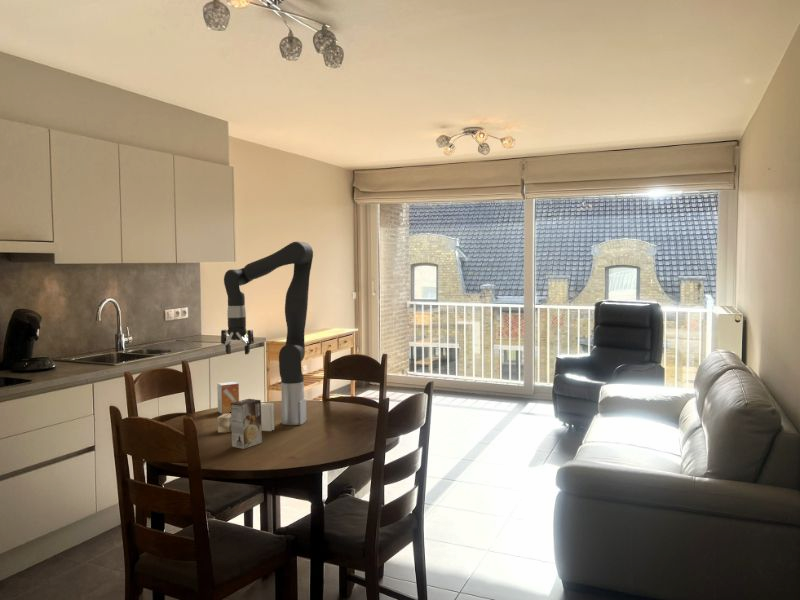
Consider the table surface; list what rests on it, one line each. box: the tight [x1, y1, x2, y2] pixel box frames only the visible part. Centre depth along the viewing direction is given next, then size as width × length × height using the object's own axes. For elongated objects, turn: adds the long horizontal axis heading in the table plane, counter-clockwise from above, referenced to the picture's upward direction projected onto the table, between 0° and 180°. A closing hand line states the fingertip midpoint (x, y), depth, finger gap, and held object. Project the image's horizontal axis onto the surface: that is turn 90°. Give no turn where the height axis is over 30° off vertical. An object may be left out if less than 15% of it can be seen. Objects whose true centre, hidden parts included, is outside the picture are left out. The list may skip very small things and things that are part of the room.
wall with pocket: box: [261, 402, 275, 432], centre depth 245 cm, size 9×3×11 cm, turn 76°
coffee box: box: [230, 398, 263, 450], centre depth 224 cm, size 9×6×16 cm
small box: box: [216, 381, 240, 415], centre depth 279 cm, size 8×6×13 cm
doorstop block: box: [217, 413, 232, 433], centre depth 246 cm, size 4×7×6 cm, turn 173°
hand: (237, 354), depth 263 cm, fingers open, 8 cm apart
